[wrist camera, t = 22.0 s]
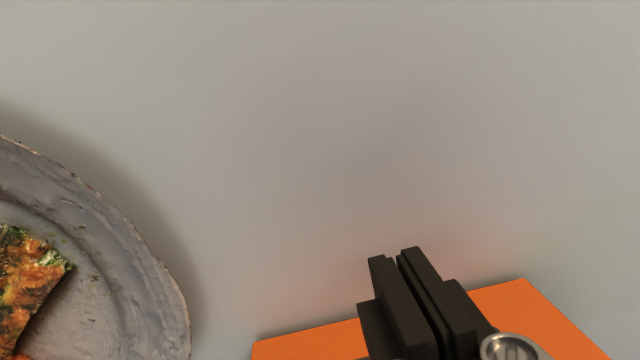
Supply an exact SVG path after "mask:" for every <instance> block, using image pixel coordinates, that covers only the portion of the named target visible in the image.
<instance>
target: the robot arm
mask: <svg viewBox="0 0 640 360" xmlns="http://www.w3.org/2000/svg"><path fill="white" fill-rule="evenodd" d="M396 262H397V266H396V264H395V262H394V260H393V258H392V257H389V258H386V257H385V255H384V254H383V255H379V256H375V257H371V258H368V264H369V269H370V274H371V279H372V284H373V288H374V293H375V298H376V299H373V300H369V301H365V302H361V303H357V304H356V305H357V310H358V315H359V319H360V323H361V328H362V332H363V336H364V339H365V343H366V347H367V350H368V354H369V357H370V360H555V359H554V358H553V357H552V356H551V355H550V354H548V353H547V352H546V351H545V350H544V349H543V348H542V347H540V346H539V345H538V344H537V343H536V342H534V341H533V340H531V339H530V338H528V337H526V336H523V335H521V334H517V333H512V332H499V333H497V332H496V330H495V329H494V328H493V326H492V325H491V324H490V323H489V321H488V320H487V319H486V317H485V316H484V315H483V314H482V312H481V311H480V310H479V308H478V307H477V306H476V305H475V303H474V302H473V301H472V299H471V298H470V297H469V296H468V294H467V293H466V292H465V290H464V289H463V288H462V286H461V285H460V284H459V283H458V282H457V281H456V280H455V279H451V280H448V281H444V282H443V280H442V279H441V277H440V276H439V275H438V273H437V272H436V270H435V269H434V268H433V266H432V265H431V263H430V262H429V261H428V259H427V258H426V256H425V255H424V254H423V252H422V251H421V249H420V248H419V247H418V246H415V247H411V248H407V249H403V250H401V255H397V256H396ZM397 267H398V268H397Z"/></svg>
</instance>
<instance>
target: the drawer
mask: <svg viewBox="0 0 640 360" xmlns="http://www.w3.org/2000/svg"><path fill="white" fill-rule="evenodd" d="M466 293H467V294H468V296H469V297H470V298H471V299H472V301H473V302H474V303H475V305H476V306H477V307H478V308H479V310H480V311H481V312H482V314H483V315H484V316H485V317H486V319H487V320H488V321H489V323H490V324H491V325H492V326H493V328H494V329H495V330H496V332H497V333H499V332H512V333H517V334H521V335H523V336H526V337H528V338H530V339H531V340H533V341H534V342H536V343H537V344H538V345H539V346H540V347H542V348H543V349H544V350H545V351H546V352H547V353H548V354H550V355H551V356H552V357H553V358H554V359H555V360H611V359H610V358H609V357H608V356H607V355H606V354H605V353H604V352H603V351H602V350H601V349H599V348H598V347H597V346H596V345H595V344H594V343H593V342H592V341H591V340H590V339H589V338H588V337H587V336H586V335H585V334H583V333H582V332H581V331H580V330H579V329H578V328H577V327H576V326H575V325H574V324H573V323H572V322H571V321H570V320H568V319H567V318H566V317H565V316H564V315H563V314H562V313H561V312H560V311H559V310H558V309H557V308H556V307H555V306H553V305H552V304H551V303H550V302H549V301H548V300H547V299H546V298H545V297H544V296H543V295H542V294H541V293H540V292H538V291H537V290H536V289H535V288H534V287H533V286H532V285H531V284H530V283H529V282H528V281H527V280H526V279H525V278H521V279H517V280H513V281H509V282H505V283H500V284H496V285H492V286H488V287H484V288H479V289H475V290H471V291H467V292H466ZM251 360H370V357H369V354H368V350H367V347H366V343H365V339H364V336H363V332H362V328H361V323H360V319H359V317H358V318H353V319H349V320H345V321H341V322H337V323H332V324H328V325H324V326H320V327H316V328H311V329H307V330H303V331H299V332H295V333H290V334H286V335H282V336H278V337H274V338H269V339H265V340H261V341H257V342H254V343H253V347H252V354H251Z"/></svg>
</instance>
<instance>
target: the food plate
mask: <svg viewBox="0 0 640 360" xmlns="http://www.w3.org/2000/svg"><path fill="white" fill-rule="evenodd" d="M15 140H16V139H15ZM18 142H19V141H18ZM71 174H73V173H72V172H71V171H69V170H67V169H65V168H64V167H62V166H61V165H59V164H58V163H57V164H56V163H55V162H54V161H52V160H49V159H47V158H46V157H44V156H42V155H40V154H39V153H36V152H35V151H33V150H31V149H30V148H27V146H25V145H23V144H22V143H21V142H19V143H17V144H15V143H14V140H9V139H7V138H6V136H4V135H1V134H0V360H189V359H190V357H191V342H192V336H191V332H190V328H191V325H190V318H188V317H189V316H188V308H187V307H186V305H187V304H186V302H185V299H184V297H183V295H182V293H181V291H180V289H179V285H178V282H176V280H175V279H174V278H172V277H171V274H170V275H169V270H168V269H166V266H164V263H163V261H160V260H158V259H157V257H155V256H154V255H152V253H151V252H150V249H149V247H148V246H147V244H146V243H145V242H144V241H143V239H141V238H140V234H138V233H137V231H135V229H136V228H135V227H134V226H133V223H132V222H130V221H128V220H127V219H125V218H126V217H125V216H124V215H123V214H122V212H119V209H117V208H116V206H114V205H112V204H111V203H109V202H107V201H106V200H105V199H104V198H103V197H102V196H101V195H100V193H99V192H98V191H95V190H93V189H92V188H90V186H89V185H87V184H85V183H84V182H83V181H82V180H81V179H80V178H78V177H76V176H73V175H75V174H73V175H71Z"/></svg>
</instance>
